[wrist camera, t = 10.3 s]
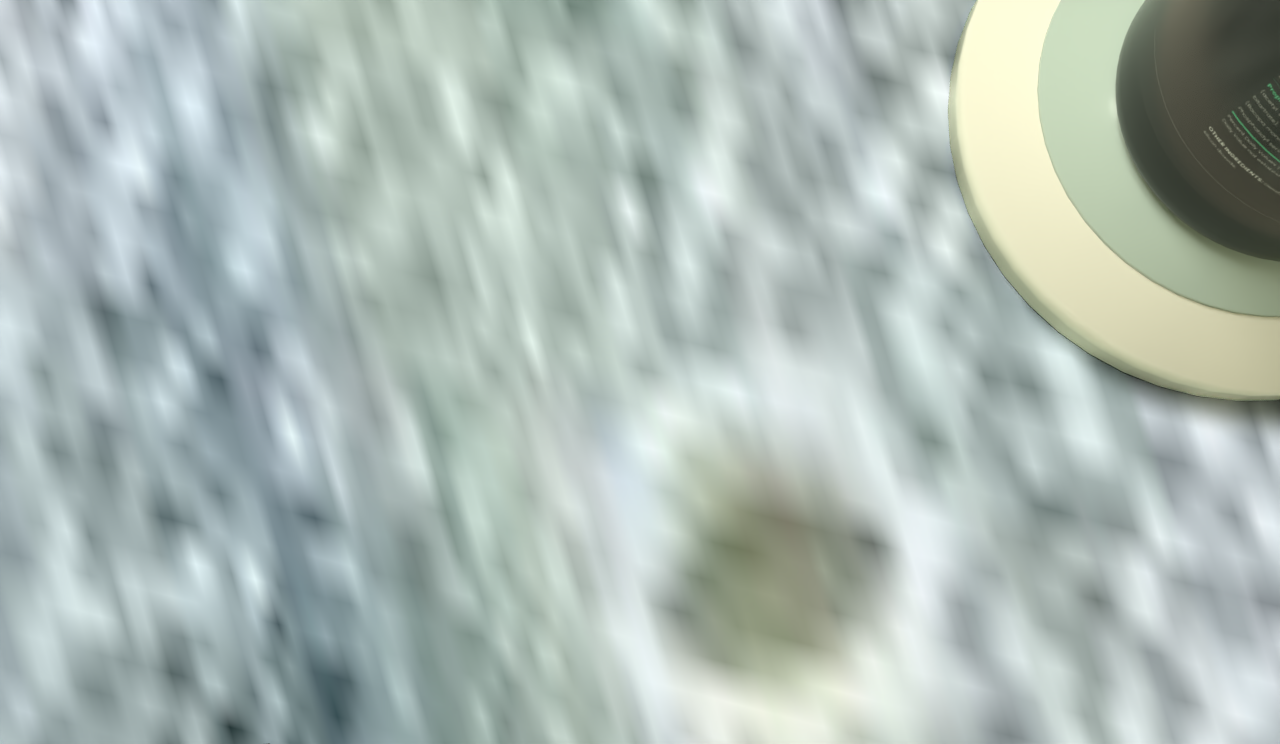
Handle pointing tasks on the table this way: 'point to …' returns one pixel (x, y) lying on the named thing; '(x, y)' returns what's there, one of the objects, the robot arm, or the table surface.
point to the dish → (1097, 207)
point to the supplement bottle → (1207, 115)
